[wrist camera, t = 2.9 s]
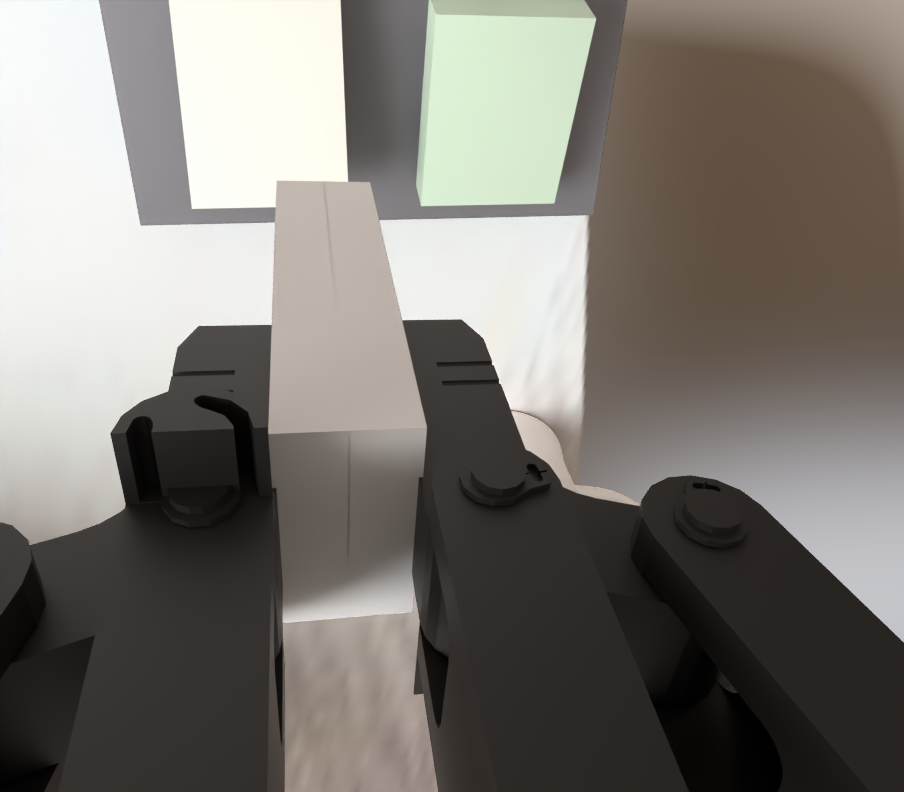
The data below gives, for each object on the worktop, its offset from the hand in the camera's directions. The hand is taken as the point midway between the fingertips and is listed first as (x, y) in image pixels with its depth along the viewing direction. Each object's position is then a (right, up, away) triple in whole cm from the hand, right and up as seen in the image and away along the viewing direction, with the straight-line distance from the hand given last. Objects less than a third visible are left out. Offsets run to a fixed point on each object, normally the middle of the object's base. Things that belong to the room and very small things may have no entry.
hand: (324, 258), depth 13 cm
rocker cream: (-4, +8, +13) cm, 16 cm away
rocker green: (+4, +8, +15) cm, 17 cm away
